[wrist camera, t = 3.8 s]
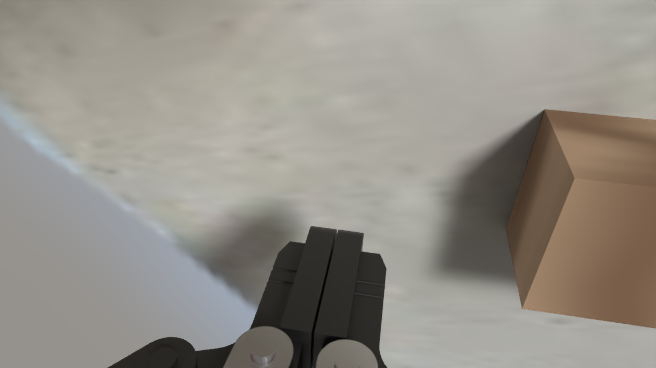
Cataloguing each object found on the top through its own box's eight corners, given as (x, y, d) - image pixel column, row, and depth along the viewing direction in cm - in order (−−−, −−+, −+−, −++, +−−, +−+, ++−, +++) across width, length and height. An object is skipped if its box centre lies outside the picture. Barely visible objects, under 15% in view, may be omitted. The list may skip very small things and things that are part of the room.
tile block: (505, 226, 18) (522, 308, 15) (543, 107, 15) (574, 178, 12) (645, 244, 17) (694, 334, 14) (713, 123, 15) (794, 202, 11)
